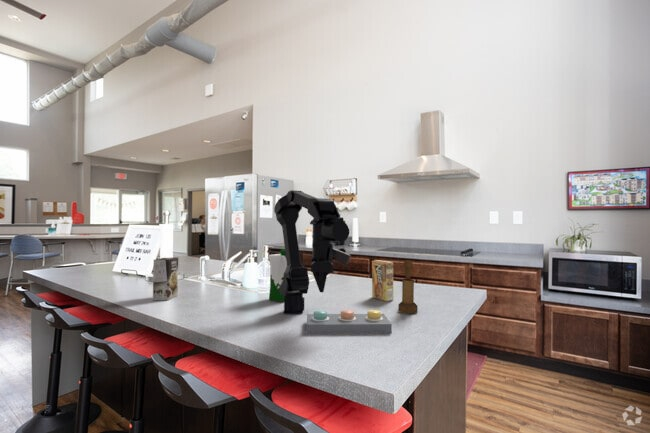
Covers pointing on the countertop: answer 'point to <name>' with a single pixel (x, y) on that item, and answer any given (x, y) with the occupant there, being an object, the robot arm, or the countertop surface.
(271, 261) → the milk carton
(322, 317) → the teal button
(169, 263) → the coffee box
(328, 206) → the robot arm
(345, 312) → the terracotta button
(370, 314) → the mustard button
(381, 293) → the candy box
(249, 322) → the countertop surface
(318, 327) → the button console
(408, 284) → the brown stepped post
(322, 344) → the countertop surface
